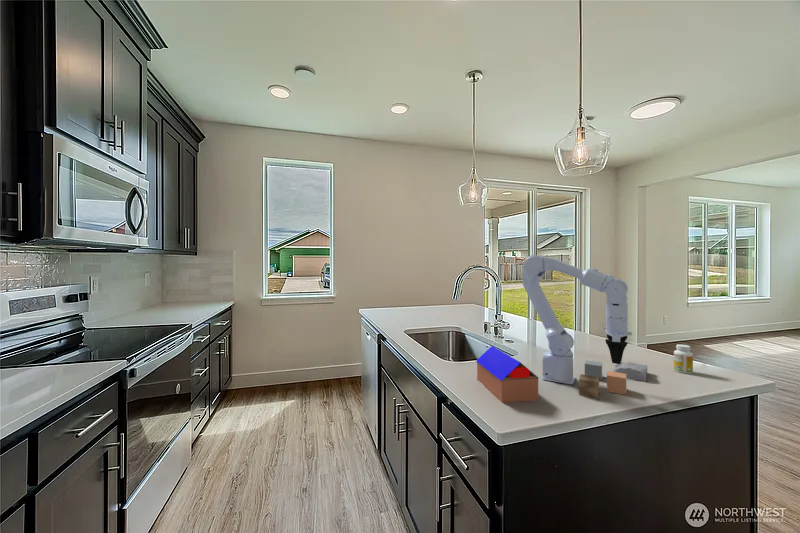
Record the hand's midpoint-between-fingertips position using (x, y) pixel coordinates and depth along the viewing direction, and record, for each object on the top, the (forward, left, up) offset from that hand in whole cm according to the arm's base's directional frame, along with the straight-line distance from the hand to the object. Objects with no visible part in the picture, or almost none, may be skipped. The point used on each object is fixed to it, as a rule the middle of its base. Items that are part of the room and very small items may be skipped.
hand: (616, 360), depth 105 cm
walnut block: (-7, -8, -10) cm, 14 cm away
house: (-30, -18, -10) cm, 36 cm away
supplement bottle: (+20, +34, -10) cm, 41 cm away
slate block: (-7, +10, -10) cm, 15 cm away
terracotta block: (0, 0, -10) cm, 10 cm away
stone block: (+4, +20, -10) cm, 23 cm away
